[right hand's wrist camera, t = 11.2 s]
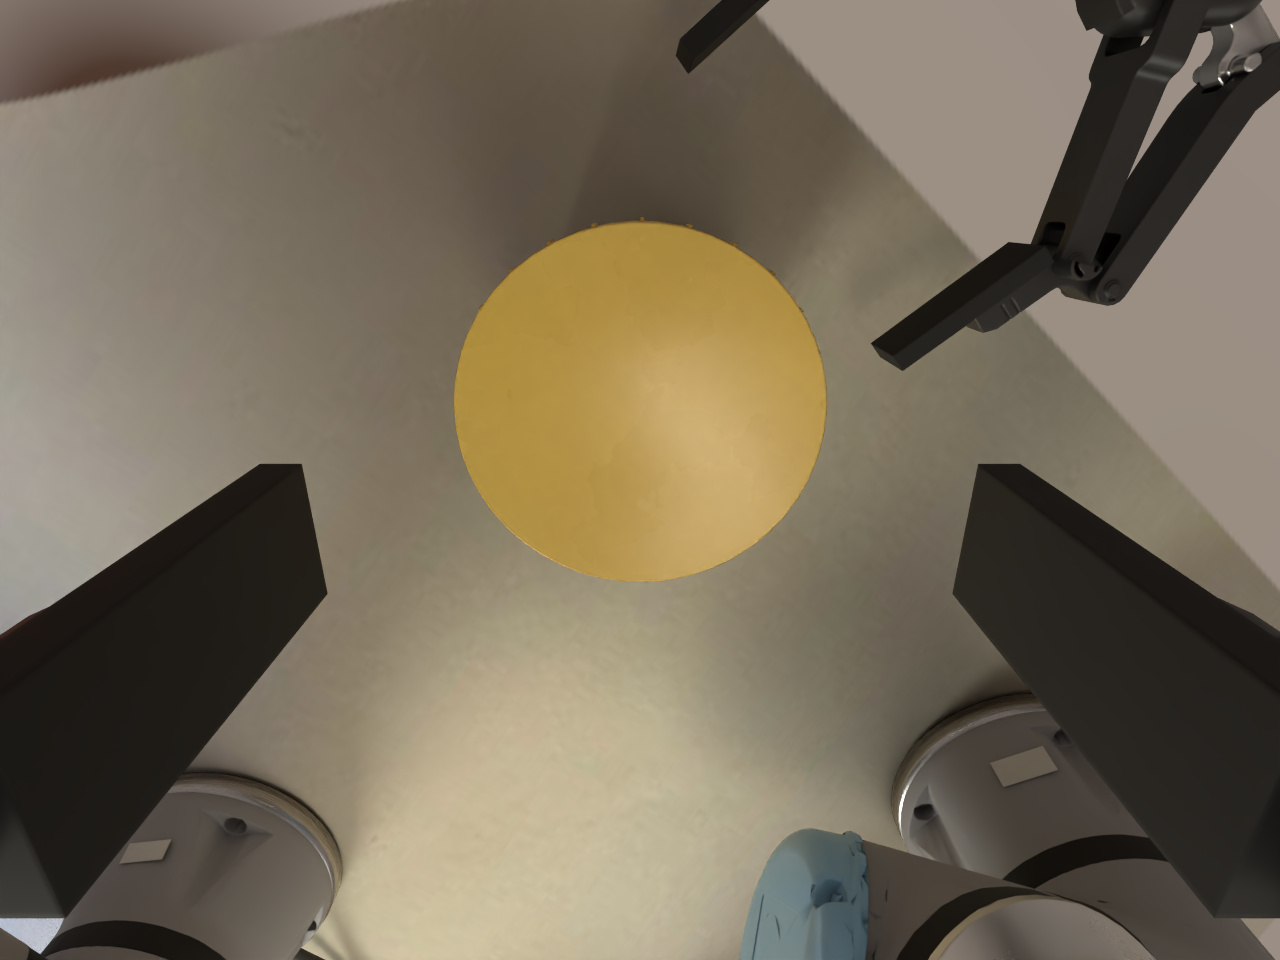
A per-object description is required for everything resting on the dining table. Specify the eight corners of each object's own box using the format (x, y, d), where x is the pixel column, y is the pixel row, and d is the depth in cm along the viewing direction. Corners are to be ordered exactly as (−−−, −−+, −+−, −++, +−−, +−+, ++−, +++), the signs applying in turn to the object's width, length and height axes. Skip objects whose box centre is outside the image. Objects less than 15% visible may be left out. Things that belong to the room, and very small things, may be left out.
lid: (590, 133, 18) (586, 126, 17) (890, 364, 20) (909, 376, 19) (401, 444, 21) (384, 462, 20) (678, 613, 24) (680, 640, 22)
